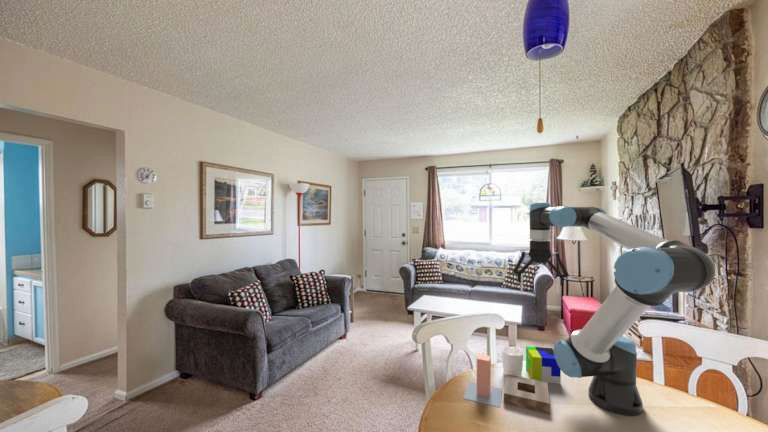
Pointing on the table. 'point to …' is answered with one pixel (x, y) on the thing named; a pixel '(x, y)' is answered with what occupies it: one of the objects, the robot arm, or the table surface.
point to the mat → (472, 395)
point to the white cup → (512, 361)
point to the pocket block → (527, 394)
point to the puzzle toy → (542, 365)
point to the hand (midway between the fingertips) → (539, 292)
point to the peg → (483, 375)
